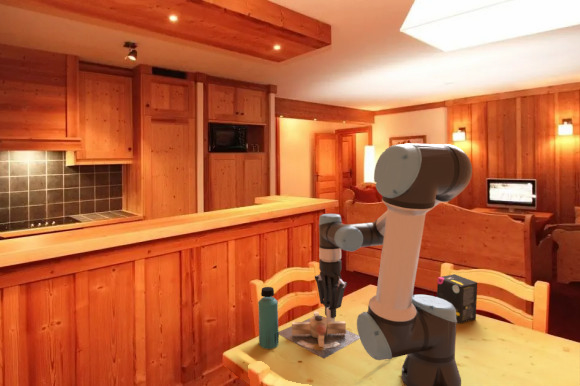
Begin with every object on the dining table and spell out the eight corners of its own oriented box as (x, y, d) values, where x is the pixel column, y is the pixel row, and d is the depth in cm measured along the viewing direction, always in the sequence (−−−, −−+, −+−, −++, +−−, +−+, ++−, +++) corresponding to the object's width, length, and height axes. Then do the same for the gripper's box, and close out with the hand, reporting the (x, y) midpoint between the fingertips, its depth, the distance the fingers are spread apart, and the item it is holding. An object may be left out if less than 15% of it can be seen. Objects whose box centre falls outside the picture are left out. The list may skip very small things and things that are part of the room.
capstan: (340, 321, 133) (340, 303, 132) (350, 348, 114) (350, 326, 114) (291, 322, 132) (291, 303, 132) (292, 349, 114) (292, 327, 113)
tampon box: (435, 313, 143) (436, 276, 142) (452, 309, 147) (453, 273, 146) (458, 324, 133) (460, 285, 132) (476, 319, 137) (478, 281, 136)
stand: (362, 341, 122) (362, 336, 122) (323, 363, 109) (323, 357, 109) (314, 320, 138) (314, 315, 138) (276, 337, 125) (276, 332, 125)
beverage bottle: (276, 354, 114) (275, 292, 112) (256, 352, 116) (254, 291, 114) (281, 344, 121) (280, 285, 119) (261, 342, 122) (260, 284, 120)
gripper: (352, 260, 123) (352, 328, 125) (323, 253, 132) (323, 316, 134) (337, 265, 118) (338, 335, 120) (308, 257, 127) (309, 323, 129)
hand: (330, 325), depth 127 cm, fingers closed
